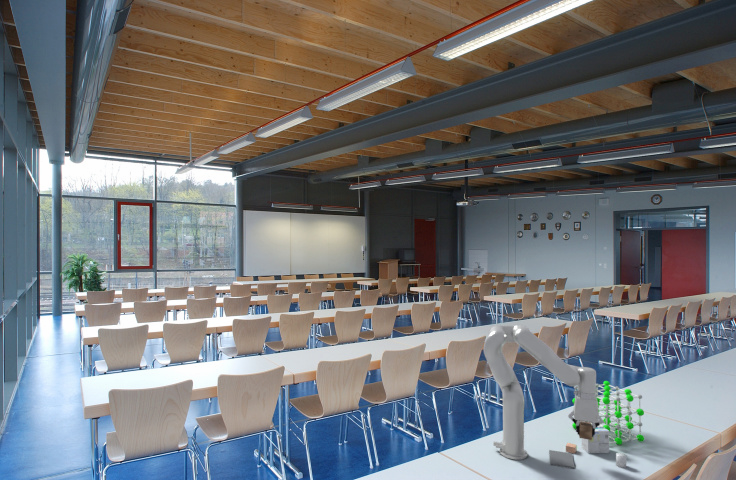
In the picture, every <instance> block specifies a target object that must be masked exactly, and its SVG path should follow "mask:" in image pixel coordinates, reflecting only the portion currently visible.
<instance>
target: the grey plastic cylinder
mask: <svg viewBox="0 0 736 480" xmlns="http://www.w3.org/2000/svg"><path fill="white" fill-rule="evenodd" d="M615 466H616V467H618V468H619V469H626V468H627V454H625V453H622V452H616V453H615Z"/></svg>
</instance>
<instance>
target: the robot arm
mask: <svg viewBox="0 0 736 480" xmlns="http://www.w3.org/2000/svg"><path fill="white" fill-rule="evenodd" d="M506 343H516V344H517V345H518V346H519V347H520V348H522V349H523V350H524V351H526V352H527V353H528V354H529V355H530V356H532V357H533V358H534V359H535V360H536V361H537V362H539V363H540V364H541V365H542V366H543V367H545V368H546V369H547V370H548V371H549V372H550V373H551V374H553V375H554V376H555V377H556V378H557V379H559V380H560V381H561V382H562V383H563V384H565V385H567V386H569V387H574V386H577V387H578V389H577V390H576V391H575V390H573V395H575V394H576V398H575V397H574V398H575V402H574V404H573V410H572V411H571V412H570V413H569V414H568V415H567V417H568V418H569V419H570V420H571V421H572V422H573V423H575V424H576V429H575V432H576V433H577V436H579V434H580V426H579V423H580V421H584V422H590V423H591V424H592V437H593V435H595V428H596V427H597V426H599V425H600V424H601V425H603V424H605V423H604V421H603V420H602V419H603V418H602V417H600V416H601V415H600V413H599V410H600V409H599V408H598V401H597V399H596V389H597V387H596V384H597V371H596V369H595V368H592V367H588V366H577V365H571V364H567V363H566V362H565V361H564V360H563V359H561V358H560V357H559V356H558V355H557V354H556V352H555V351H554V350H553V348H552V347H550V346H549V345H548V344H547V343H545V342H544V341H543V340H542V339H540V338H539V337H537V335H535V333H533V332H532V331H531V330H530V328H529V327H527V326H526V325H523V324H521V325H520V324H519V325H518V324H513V325H510V324H508V325H493V326H492V327H491V328H490V330H489V331H488V336H487V337H486V339H485V341H484V344H483V355H484V357H485V359H486V363H487V364H488V366H489V369H490V371H491V374H492V377H493V380H494V381H495V382H496V383H497V384H498V386H499V388H500V391H501V392H502V393H501V394H502V441H500V442H498V441H493V446H495V449H499V453H500V455H501V456H503V457H504V458H507V459H511V460H515V461H516V460H519V461H520V460H524V459H526V458H528V451H527V450H526V449H525V430H524V429H525V419H524V418H525V416H524V415H525V397H524V396H525V395H524V392H523V388H522V385H520V382H519V380H518V378H517V376H516V373H515V370H514V369H513V367H512V366H511V365H510V363H509V362H508V361H507V360H506V357H505V355H504V353H503V347H504V345H505V344H506ZM598 409H599V410H598ZM575 419H576V420H575Z"/></svg>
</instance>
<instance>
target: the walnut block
mask: <svg viewBox="0 0 736 480" xmlns="http://www.w3.org/2000/svg"><path fill="white" fill-rule="evenodd" d="M579 426H580V434H579V435H578V438H579V439H582V438H583V439H589V440H592V422H585V421H580V423H579Z"/></svg>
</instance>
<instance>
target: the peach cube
mask: <svg viewBox="0 0 736 480" xmlns="http://www.w3.org/2000/svg"><path fill="white" fill-rule="evenodd" d="M577 446H578V445H577V444H575V443H571V442H567V443H566V445H565V452H566V453H572V454H576V453H577V450H578V449H577Z"/></svg>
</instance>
